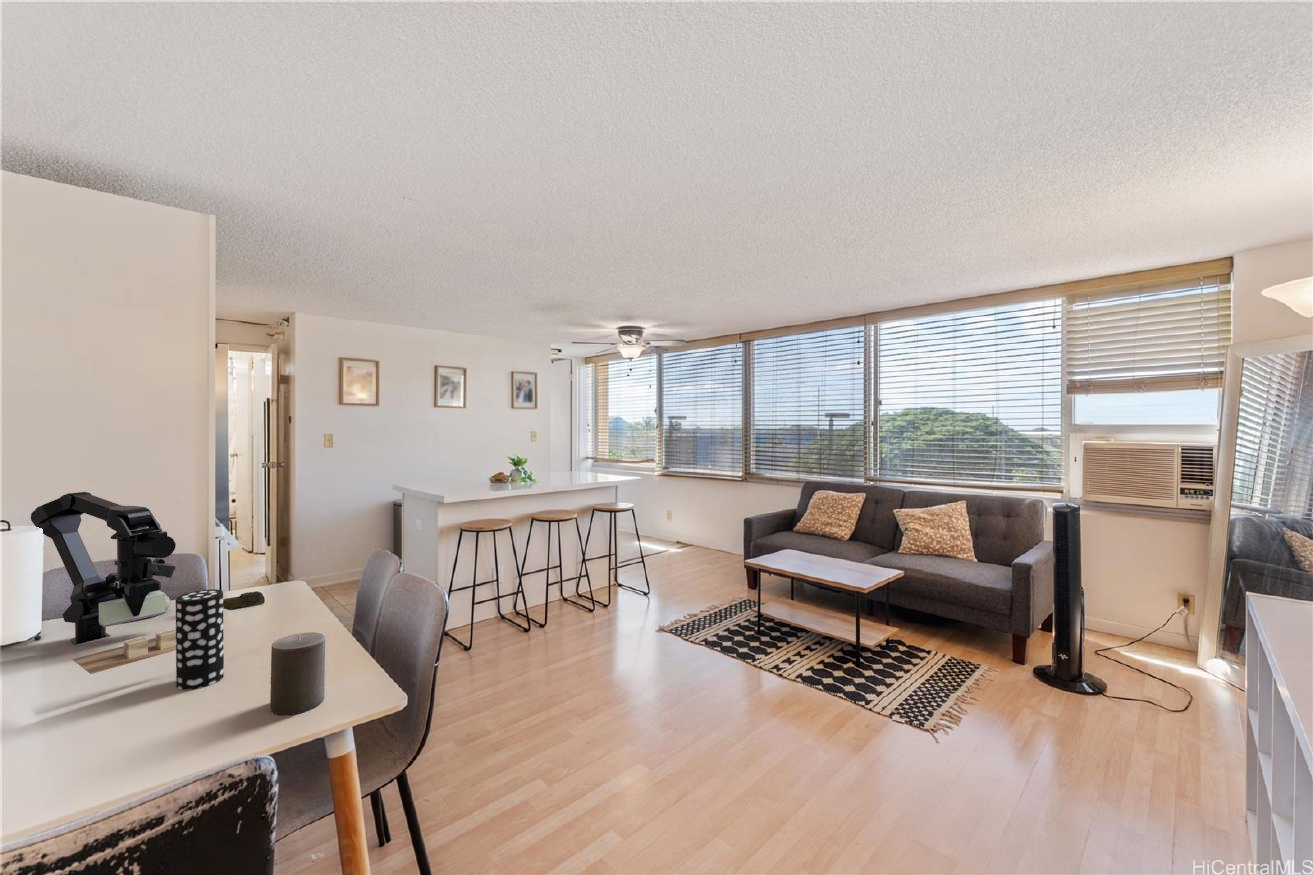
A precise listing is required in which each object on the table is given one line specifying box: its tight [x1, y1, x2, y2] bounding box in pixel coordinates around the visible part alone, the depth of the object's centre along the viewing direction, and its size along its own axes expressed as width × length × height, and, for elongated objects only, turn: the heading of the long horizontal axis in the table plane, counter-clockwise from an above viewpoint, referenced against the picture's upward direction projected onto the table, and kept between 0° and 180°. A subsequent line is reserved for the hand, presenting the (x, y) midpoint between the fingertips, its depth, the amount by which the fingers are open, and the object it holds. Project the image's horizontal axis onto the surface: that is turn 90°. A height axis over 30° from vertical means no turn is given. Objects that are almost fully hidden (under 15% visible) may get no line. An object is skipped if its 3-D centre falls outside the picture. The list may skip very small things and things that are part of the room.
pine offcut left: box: [123, 636, 149, 658], centre depth 134 cm, size 4×4×4 cm
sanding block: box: [99, 590, 166, 628], centre depth 142 cm, size 4×12×6 cm, turn 149°
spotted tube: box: [175, 588, 225, 691], centre depth 123 cm, size 8×8×20 cm
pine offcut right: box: [155, 628, 176, 650], centre depth 139 cm, size 4×4×4 cm
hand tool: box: [223, 590, 266, 610], centre depth 169 cm, size 19×4×5 cm, turn 125°
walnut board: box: [72, 637, 176, 675], centre depth 137 cm, size 14×24×2 cm, turn 149°
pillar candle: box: [269, 631, 326, 716], centre depth 115 cm, size 10×10×15 cm
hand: (133, 614), depth 143 cm, fingers closed on sanding block, 4 cm apart
